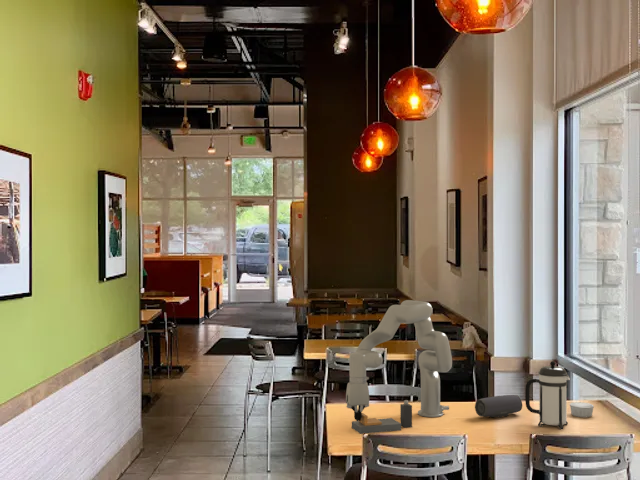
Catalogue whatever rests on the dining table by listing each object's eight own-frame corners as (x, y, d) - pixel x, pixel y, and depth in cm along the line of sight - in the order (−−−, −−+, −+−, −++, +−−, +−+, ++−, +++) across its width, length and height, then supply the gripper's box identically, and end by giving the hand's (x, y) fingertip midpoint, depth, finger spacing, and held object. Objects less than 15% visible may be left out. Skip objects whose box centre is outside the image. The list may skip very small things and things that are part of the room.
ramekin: (586, 419, 345) (586, 408, 345) (565, 415, 353) (565, 404, 353) (598, 415, 352) (598, 404, 352) (577, 411, 360) (576, 401, 360)
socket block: (391, 424, 336) (391, 417, 336) (401, 430, 325) (401, 423, 325) (351, 427, 330) (351, 421, 330) (360, 434, 319) (360, 427, 319)
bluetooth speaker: (510, 412, 360) (510, 392, 360) (523, 416, 351) (523, 395, 351) (474, 416, 350) (473, 396, 350) (486, 421, 342) (486, 400, 342)
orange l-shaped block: (375, 420, 332) (375, 411, 332) (381, 424, 324) (381, 415, 324) (358, 421, 329) (358, 412, 329) (365, 425, 322) (365, 416, 322)
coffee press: (558, 420, 342) (558, 357, 342) (576, 429, 326) (575, 363, 326) (524, 422, 339) (524, 359, 339) (540, 430, 323) (540, 364, 324)
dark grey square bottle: (408, 425, 335) (408, 399, 335) (412, 427, 331) (411, 401, 331) (400, 425, 334) (400, 400, 334) (404, 427, 330) (404, 401, 330)
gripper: (370, 377, 331) (370, 417, 331) (339, 379, 326) (339, 419, 326) (376, 380, 324) (376, 421, 324) (345, 382, 319) (345, 423, 319)
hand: (357, 420), depth 325 cm, fingers closed
